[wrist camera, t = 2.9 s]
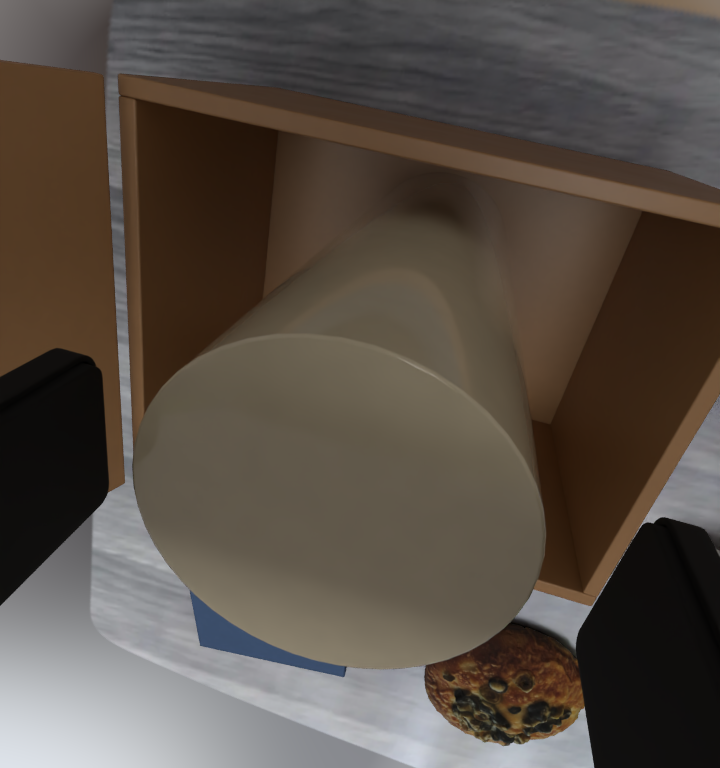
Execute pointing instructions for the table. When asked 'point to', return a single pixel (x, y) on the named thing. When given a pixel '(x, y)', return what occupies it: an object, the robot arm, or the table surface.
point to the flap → (58, 228)
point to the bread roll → (508, 687)
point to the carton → (528, 265)
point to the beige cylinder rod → (360, 445)
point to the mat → (248, 641)
